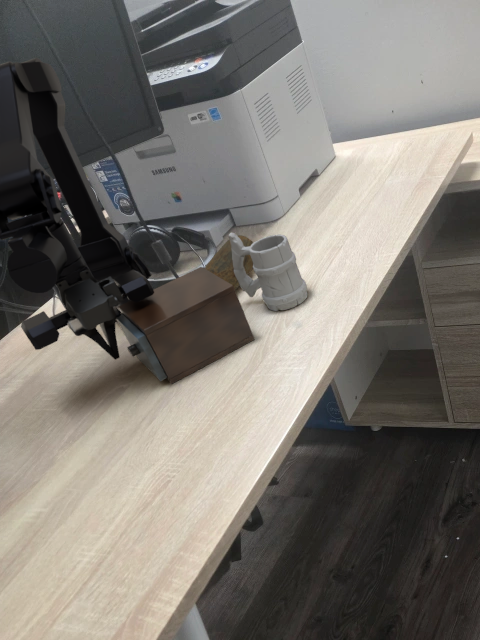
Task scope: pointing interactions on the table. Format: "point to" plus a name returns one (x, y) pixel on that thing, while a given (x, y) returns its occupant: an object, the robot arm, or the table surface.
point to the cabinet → (190, 322)
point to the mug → (270, 271)
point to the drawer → (141, 347)
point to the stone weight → (229, 262)
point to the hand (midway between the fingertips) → (116, 358)
